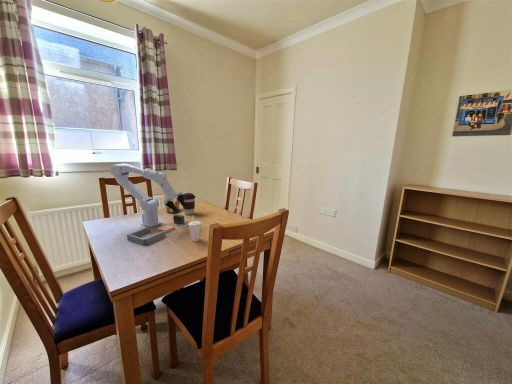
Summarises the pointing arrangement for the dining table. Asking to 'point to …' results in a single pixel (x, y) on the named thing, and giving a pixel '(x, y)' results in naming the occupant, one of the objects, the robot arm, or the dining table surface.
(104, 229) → the dining table surface
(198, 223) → the smoothie
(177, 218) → the turner
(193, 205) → the coffee cup
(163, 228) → the tile
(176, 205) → the bread roll
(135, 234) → the frame
